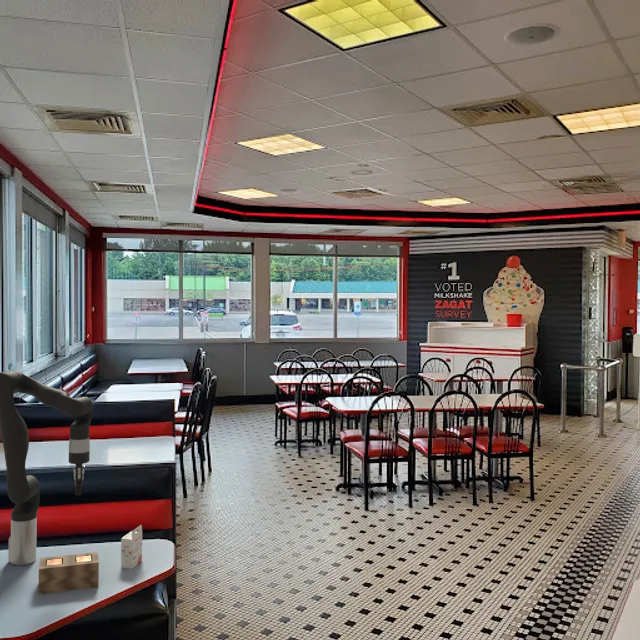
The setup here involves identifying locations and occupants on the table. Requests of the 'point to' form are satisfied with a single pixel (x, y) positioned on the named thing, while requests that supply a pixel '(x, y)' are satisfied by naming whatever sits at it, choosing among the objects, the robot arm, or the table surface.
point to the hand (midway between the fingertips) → (78, 494)
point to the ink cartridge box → (131, 548)
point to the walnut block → (68, 573)
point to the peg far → (83, 559)
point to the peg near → (54, 562)
